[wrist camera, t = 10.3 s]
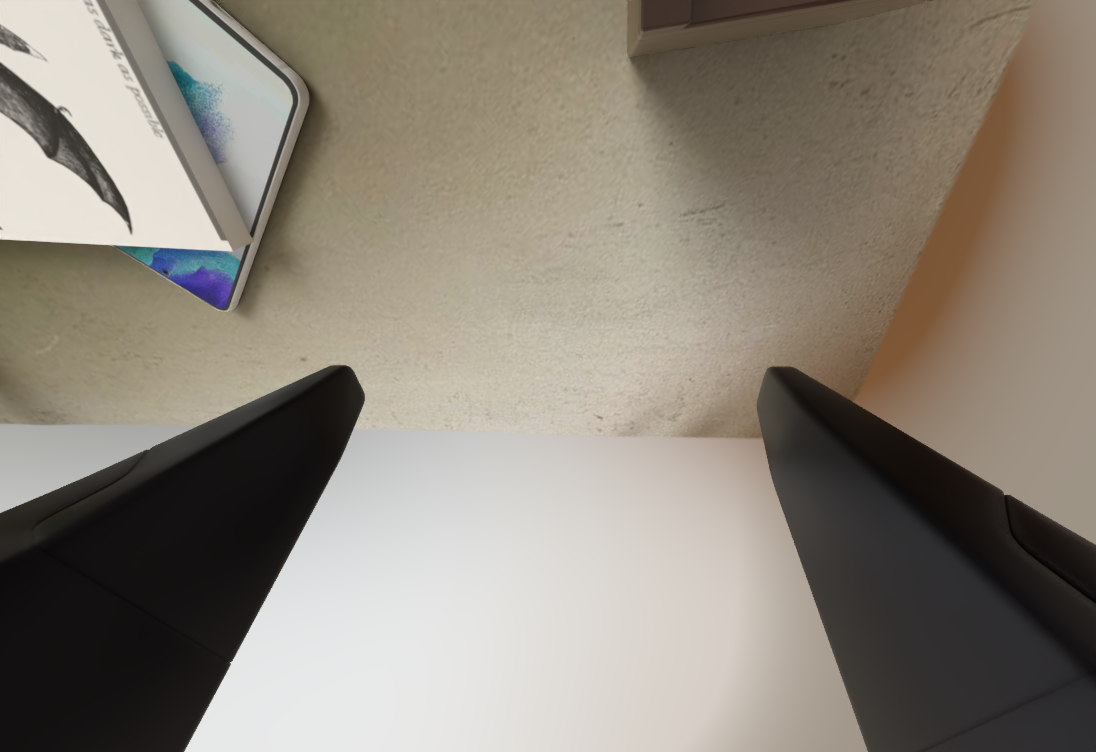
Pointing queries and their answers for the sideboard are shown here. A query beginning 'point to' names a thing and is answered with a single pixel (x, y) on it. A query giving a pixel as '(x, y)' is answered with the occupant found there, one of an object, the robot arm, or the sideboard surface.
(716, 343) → the sideboard surface
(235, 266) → the smartphone
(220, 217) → the book
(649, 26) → the shelf
